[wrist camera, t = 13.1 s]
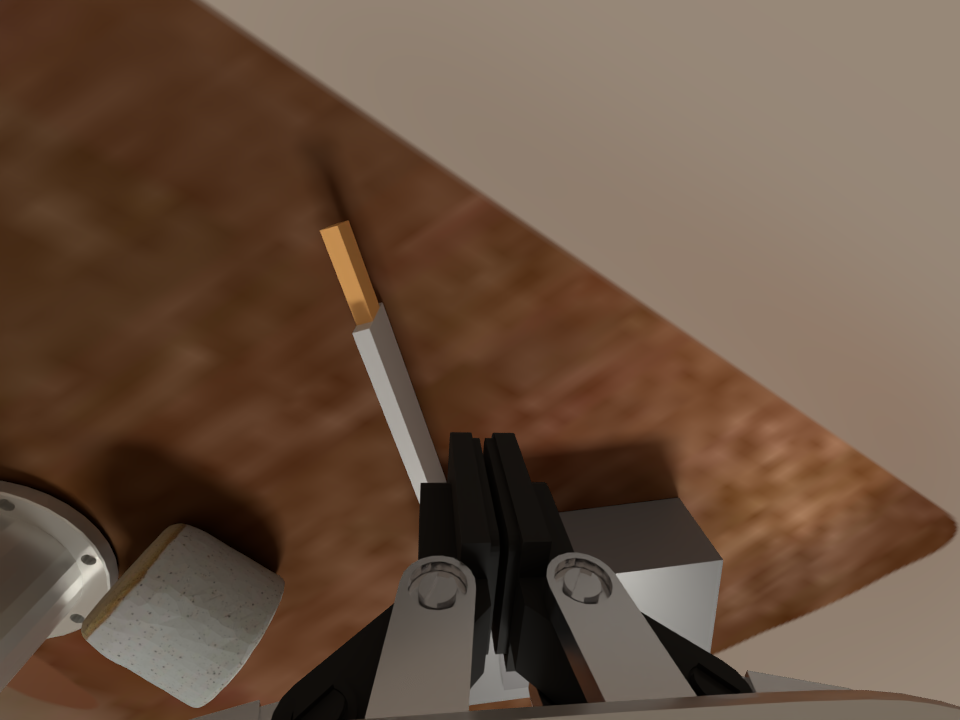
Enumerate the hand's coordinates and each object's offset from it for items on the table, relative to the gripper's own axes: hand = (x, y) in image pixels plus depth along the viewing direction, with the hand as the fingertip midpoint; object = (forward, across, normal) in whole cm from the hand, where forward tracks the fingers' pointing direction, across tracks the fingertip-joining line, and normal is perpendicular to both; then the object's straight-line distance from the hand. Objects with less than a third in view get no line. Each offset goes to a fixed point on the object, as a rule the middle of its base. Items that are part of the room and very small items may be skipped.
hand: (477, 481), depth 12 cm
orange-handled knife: (+15, +2, +5) cm, 15 cm away
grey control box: (+15, -9, +18) cm, 25 cm away
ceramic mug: (+16, +16, +19) cm, 29 cm away
